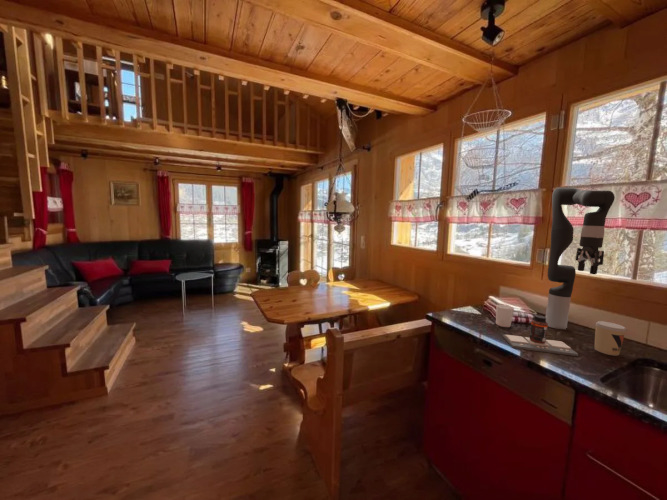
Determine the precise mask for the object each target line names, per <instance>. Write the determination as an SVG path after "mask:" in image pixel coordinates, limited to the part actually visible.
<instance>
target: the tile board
mask: <svg viewBox="0 0 667 500" xmlns="http://www.w3.org/2000/svg"><path fill="white" fill-rule="evenodd" d="M502 337H503V339H504V340H505V341H506V342H507V343H508V344H509V345H510V347H512V349H513V348H514V349H519V350H528V351H535V352H544V353H551V354H558V355H565V356H566V355H567V356H572V357H579V353H578V352H576V351H575V350H573V349H572V348H571V346H569V345H567V344H566V343H565V342H563V341H562V340H561V341H560V340H555V339H554V340H553V339H546V342H545V343H537V342H534V341H532V340H530V336H529V337H527V336H521V335H513V334H502Z"/></svg>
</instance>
